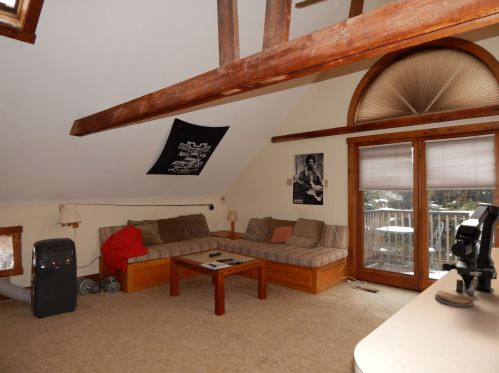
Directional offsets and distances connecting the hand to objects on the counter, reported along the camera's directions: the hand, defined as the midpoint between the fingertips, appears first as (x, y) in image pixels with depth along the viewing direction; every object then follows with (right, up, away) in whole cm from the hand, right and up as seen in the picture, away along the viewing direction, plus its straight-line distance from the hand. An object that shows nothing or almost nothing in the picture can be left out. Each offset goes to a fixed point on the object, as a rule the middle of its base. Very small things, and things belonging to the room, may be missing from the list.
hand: (467, 289), depth 146 cm
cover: (+3, -4, +5) cm, 7 cm away
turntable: (-7, -3, -2) cm, 7 cm away
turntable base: (-7, -4, -2) cm, 9 cm away
